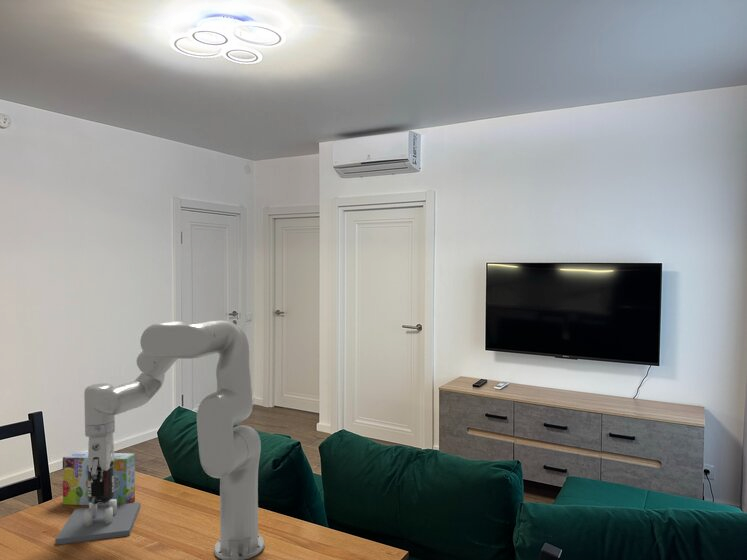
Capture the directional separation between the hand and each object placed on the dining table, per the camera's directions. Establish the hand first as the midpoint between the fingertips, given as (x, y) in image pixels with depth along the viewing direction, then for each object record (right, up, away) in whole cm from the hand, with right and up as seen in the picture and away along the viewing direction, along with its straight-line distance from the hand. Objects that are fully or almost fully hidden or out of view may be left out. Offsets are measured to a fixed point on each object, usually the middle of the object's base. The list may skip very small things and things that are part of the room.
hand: (101, 489), depth 149 cm
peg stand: (0, -10, 0) cm, 10 cm away
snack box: (-8, -10, +15) cm, 20 cm away
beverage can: (0, -3, 0) cm, 3 cm away
